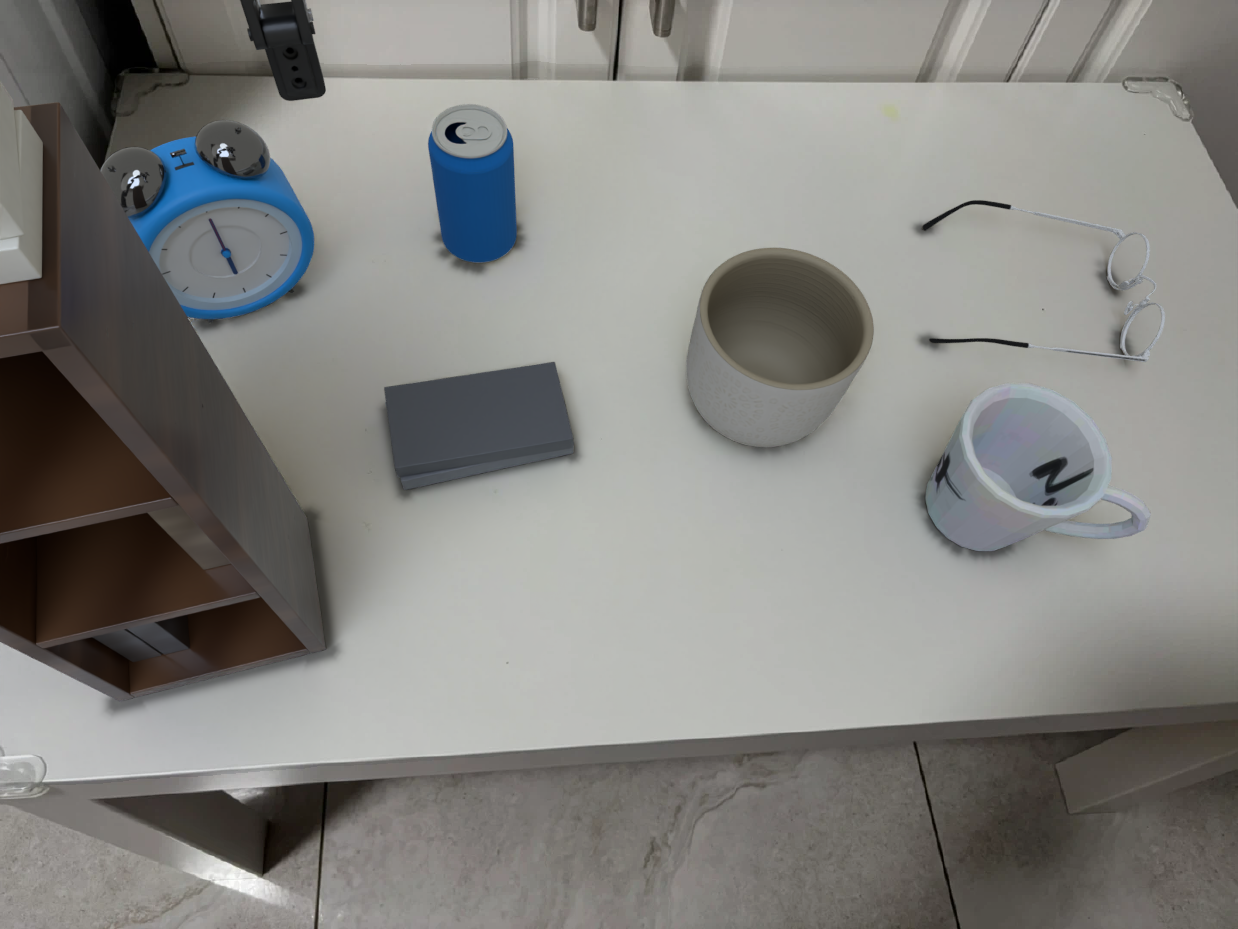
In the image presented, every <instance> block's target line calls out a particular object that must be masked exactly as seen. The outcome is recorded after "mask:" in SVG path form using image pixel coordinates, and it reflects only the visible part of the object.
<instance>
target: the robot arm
mask: <svg viewBox="0 0 1238 929" xmlns="http://www.w3.org/2000/svg"><path fill="white" fill-rule="evenodd" d="M239 2H240V5H241V8H242V11H243V14H244V17H245V20H246V23H247V26H248V28H246V29H247V30H246V31H247V34H248V38H249V41H250V42H253V44H254V48H255V50H256V51H261V50H264V51H265V54H266V57H267V60H268V64H269V68H270V70H271V73H272V76H273V80H274V82H275V85H276V89H277V92H278V95H279V97H280V98H281V99H283V100H284V101H287V102H295V101H302V100H310V99H311V100H312V99H319V98H322V97H323V96H324V95H325V94H326V91H327V88H326V82H325V78H324V74H323V69H322V67H321V63H320V59H319V55H318V51H317V48H316V43H315V40H314V35H316V29H315V25H314V21H315V20H314V15H313V12H312V11H313V10H312V8H308V4H307V0H290V1H281V2H273V3H262V4H261V0H239Z"/></svg>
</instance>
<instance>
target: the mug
mask: <svg viewBox="0 0 1238 929" xmlns="http://www.w3.org/2000/svg"><path fill="white" fill-rule="evenodd" d="M1112 466H1113V457H1112V454H1111V450H1110V448H1109V445H1108V442H1107V439H1106V437H1105V435H1104V434H1103V432H1102V431H1101V428H1099V426H1098V425H1097V423H1096V422H1095V420H1094V418H1093V417H1092V416H1091V415H1089V414H1088V413H1087V411H1085V410H1084V409H1082V408H1081V406H1080V405H1078V403H1076V402H1075V401H1074V400H1072V399H1070V398H1069V397H1067V396H1065V395H1063V394H1061V393H1059V392H1058V391H1055V390H1054V389H1051V388H1048V387H1044V386H1041V385H1038V384H1034V383H1030V382H1005V383H1002V384H999V385H995V386H991V387H988V388H986V389H984V390H983V391H982V392H980V393H979V394H978V395H977V396H975V397H974V398H973V399H971V400H970V402H969V403H968V404H967V407H966V408H965V410H964V412H963V414H962V415H961V417H960V419H959V421H958V423H957V425H956V427H955V429H954V431H953V433H952V435H951V437H950V438H949V441H948V443H947V444H946V446H945V448H944V450H943V452H942V454H941V457H940V458H939V460H938V462H937V464H936V466H935V468H934V470H933V472H932V474H931V475H930V478H929V480H928V482H927V483H926V490H925V503H926V510H927V514H928V515H929V517H930V519H931V521H932V522H933V525H934V526H935V527H936V529H937V530H938V531H939V532H940V533H942V535H943V536H945V538H946V539H948V540H949V541H951V542H953V543H954V544H956V545H958V546H959V547H961V548H965V549H969V550H972V551H975V552H994V551H997V550H1000V549H1003V548H1006V547H1009V546H1011V545H1013V544H1015V543H1016V544H1017V543H1018V542H1021V541H1022V540H1025V539H1027V538H1029V537H1032V536H1034V535H1036V534H1038V533H1041V532H1043V531H1046V532H1050V533H1053V534H1057V535H1063V536H1068V537H1075V538H1080V539H1081V538H1082V539H1093V540H1094V539H1095V540H1115V539H1117V540H1118V539H1123V538H1127V537H1132V536H1134V535H1137V534H1139V533H1142V532H1144V531H1145V530H1146V529H1147V527H1148V525H1149V522H1150V518H1151V516H1152V514H1151V510H1150V509H1149V507H1148V506H1147V504H1146V503H1145V502H1144V500H1143V499H1141V498H1140V497H1139V496H1136V495H1135V494H1134V493H1132V492H1130V491H1128V490H1125V489H1124V488H1120V487H1117V486H1115V485H1111V484H1110V483H1111V481H1112V477H1113V476H1112V474H1113V473H1112V472H1113V471H1112V469H1113V468H1112ZM1101 500H1102V501H1105V502H1108V503H1111V504H1114V505H1116V506H1119V507H1121V508H1122V509H1123V510H1125V511H1127V512H1128V513H1130V515H1131V516H1130V518H1128V519H1126V520H1123V521H1116V522H1111V523H1093V522H1081V521H1073V520H1071V519H1073V518H1075V517H1077V516H1079V515H1080V516H1081V515H1082V514H1085V513H1086V512H1088V511H1089V510H1090V509H1092V508H1093V507H1094V506H1095V505H1097V503H1099V501H1101Z"/></svg>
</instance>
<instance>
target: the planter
mask: <svg viewBox="0 0 1238 929" xmlns="http://www.w3.org/2000/svg"><path fill="white" fill-rule="evenodd" d="M696 309H697V310H696V313H695V317H694V322H693V325H692V329H691V332H690V336H689V337H690V338H689V342H688V347H687V353H686V361H685V363H686V364H685V375H686V376H685V377H686V383H687V388H688V391H689V392H688V393H689V395H690V397H691V400H692V402H693V404H694V406H695V408H696V411H697V412H698V413H699V415H700V416H701V417H702V418H703V420H704V421H705V422H706V423H707V424H708V425H709V426H710V427H711V428H712V429H714V430H715V431H716V432H718V434H720V435H722V436H724V437H725V438H727V439H728V440H731V441H733V442H735V443H739V444H741V445H745V446H749V447H756V448H775V447H781V446H785V445H790V444H792V443H795V442H798V441H799V440H801V439H803V438H806V437H807V436H808V435H810V434H812V433H813V432H815V431H816V430H817V429H818V428H819V427H820V426H822V424H823V423H825V421H826V420H827V419H828V418H829V417H830V416H831V415H832V413H833V412H834V410H835V409H836V408H837V406H838V405H839V403H840V402H841V400H842V399H843V397H844V396H845V394H846V393H847V391H848V390H849V388H850V386H851V384H852V382H854V379H855V378H856V376H857V375H858V373H859V371H860V370H861V368H862V366H863V365H864V363H865V362H866V360H867V358H868V356H869V353H870V351H871V349H872V346H873V342H874V333H875V328H874V327H875V326H874V325H875V324H874V318H873V315H872V311H871V308H870V305H869V303H868V301H867V300H866V297H865V295H864V294H863V292H862V291H861V289H860V288H859V287H858V285H857V284H856V283H855V282H854V281H853V280H852V279H851V278H850V277H849V276H848V275H847V274H846V273H844V272H843V271H842V270H841V269H839V268H838V267H837V266H835V265H834V264H832V263H830V262H829V261H826V260H825V259H824V258H821V257H819V256H816V255H814V254H812V253H808V252H805V251H802V250H797V249H794V248H793V249H792V248H788V247H787V248H785V247H761V248H755V249H751V250H746V251H743V252H741V253H738V254H736V255H733V256H731V257H730V258H728V259H727V260H725V261H724V262H722V263H721V264H720V265H718V266H717V267H716V268H715V269H714V270H713V272H711V274H710V275H709V276H708V278H707V279H706V281H705V283H704V285H703V287H702V290H701V292H700V296H699V300H698V304H697V308H696Z"/></svg>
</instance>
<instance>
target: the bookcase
mask: <svg viewBox="0 0 1238 929" xmlns="http://www.w3.org/2000/svg"><path fill="white" fill-rule="evenodd" d="M14 110H22V111H23V113H24V115H25V116H26V118H27V119H28V121H29V122H30V124H31V125H32V127H33V128H34V130H35V132H36V133H37V135H38V136H39V138H40V139H41V141H42V142H43V188H42V277H41V278H38V279H32V280H26V281H19V282H13V283H6V284H0V643H1V644H3V645H5V646H7V647H9V648H11V649H14V650H15V651H17V652H19V653H21V654H24V655H26V656H28V657H29V658H31V659H34V660H35V661H37V662H39V663H41V664H43V665H45V666H48V667H49V668H51V669H54V670H55V671H58V673H59V672H60V673H61V674H63V675H65V676H68V677H70V678H71V679H72V680H73V679H74V680H76V681H78V682H80V683H82V684H84V685H86V686H87V687H90V688H91V689H94V690H96V691H97V692H100V693H101V694H103V695H105V696H107V697H110V698H111V699H114V700H116V701H117V702H123V701H126V700H131V699H134V698H139V697H142V696H147V695H151V694H155V693H158V692H162V691H167V690H170V689H175V688H178V687H182V686H186V685H190V684H194V683H195V684H196V683H199V682H202V681H206V680H210V679H214V678H215V679H216V678H219V677H223V676H226V675H229V674H230V675H231V674H234V673H238V672H242V671H247V670H250V669H255V668H259V667H262V666H266V665H270V664H275V663H279V662H282V661H286V660H291V659H295V658H298V657H302V656H306V655H310V654H314V653H319V652H322V651H325V650H326V649H327V646H326V639H325V633H324V626H323V617H322V612H321V604H320V598H319V589H318V583H317V574H316V568H315V562H314V555H313V547H312V540H311V533H310V525H309V519H308V517H307V515H306V513H305V511H304V510H303V509H302V507H301V505H300V503H299V502H298V500H297V498H296V497H295V495H294V494H293V492H292V490H291V489H290V487H289V485H288V483H287V482H286V480H285V478H284V476H283V475H282V473H281V472H280V470H279V468H278V466H277V465H276V464H275V461H274V460H273V458H272V456H271V454H270V453H269V452H268V451H269V450H267V448H266V446H265V444H264V443H263V441H262V440H261V438H260V436H259V434H258V433H257V431H256V430H255V428H254V426H253V425H252V423H251V421H250V420H249V418H248V416H247V415H246V413H245V411H244V410H243V408H242V407H241V404H240V403H239V401H238V399H237V398H236V396H235V394H234V393H233V391H232V389H231V388H230V386H229V383H228V382H227V381H226V379H225V378H224V376H223V374H222V372H221V371H220V369H219V368H218V366H217V364H216V363H215V361H214V359H213V357H212V356H211V354H210V353H209V351H208V349H207V348H206V345H205V344H204V342H203V341H202V339H201V338H200V336H199V334H198V332H197V331H196V329H195V327H194V326H193V324H192V322H191V320H190V319H189V317H187V316H186V314H185V312H184V311H183V309H182V307H181V306H180V304H179V302H178V300H177V299H176V297H175V295H174V294H173V292H172V290H171V289H170V287H169V285H168V284H167V282H166V280H165V279H164V277H163V275H162V274H161V272H160V270H159V269H158V267H157V265H156V264H155V262H154V260H153V259H152V257H151V255H150V254H149V252H148V250H147V248H146V247H145V245H144V243H143V242H142V240H141V238H140V237H139V235H138V233H137V232H136V230H135V228H134V227H133V225H132V223H131V222H130V220H129V218H128V217H127V215H126V213H125V212H124V210H123V208H122V207H121V205H120V203H119V201H118V200H117V198H116V196H115V195H114V193H113V191H112V190H111V188H110V186H109V185H108V183H107V181H106V180H105V178H104V176H103V175H102V173H101V171H100V170H101V169H100V168H99V166H98V164H97V163H96V162H95V160H94V157H93V156H92V154H91V153H90V151H89V149H88V147H87V146H86V144H85V142H84V141H83V140H82V138H81V136H80V135H79V132H78V131H77V129H76V127H75V126H74V124H73V122H72V120H71V119H70V117H69V116H68V114H67V113H66V111H65V109H64V107H63V105H62V104H61V102H59V101H55V102H46V103H38V104H37V103H36V104H30V105H21V106H14Z"/></svg>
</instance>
